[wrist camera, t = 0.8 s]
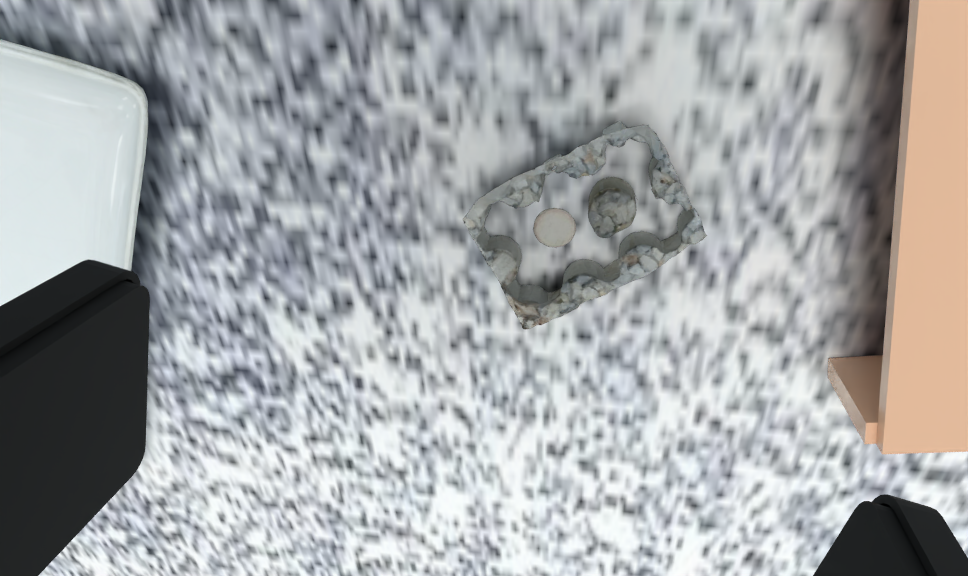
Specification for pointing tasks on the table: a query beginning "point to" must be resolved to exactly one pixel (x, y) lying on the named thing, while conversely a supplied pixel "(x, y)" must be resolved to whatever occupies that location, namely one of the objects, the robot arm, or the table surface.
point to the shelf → (923, 256)
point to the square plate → (66, 166)
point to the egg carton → (606, 215)
